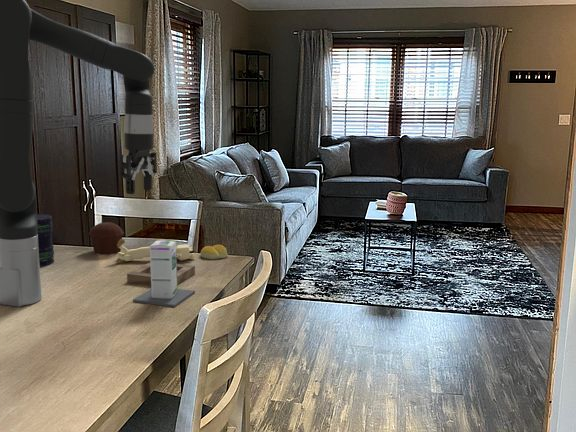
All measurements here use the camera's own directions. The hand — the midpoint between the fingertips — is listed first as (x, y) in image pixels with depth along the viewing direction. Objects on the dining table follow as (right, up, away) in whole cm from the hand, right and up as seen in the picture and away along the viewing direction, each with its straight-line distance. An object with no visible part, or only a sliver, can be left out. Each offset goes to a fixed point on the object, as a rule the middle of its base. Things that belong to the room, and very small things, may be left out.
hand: (139, 191), depth 157 cm
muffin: (-22, -19, +42) cm, 51 cm away
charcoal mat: (+7, -28, -2) cm, 29 cm away
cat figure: (-3, -22, +33) cm, 40 cm away
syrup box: (+7, -28, -2) cm, 29 cm away
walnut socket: (+3, -25, +15) cm, 29 cm away
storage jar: (-39, -22, +27) cm, 52 cm away
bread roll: (+15, -21, +40) cm, 48 cm away
